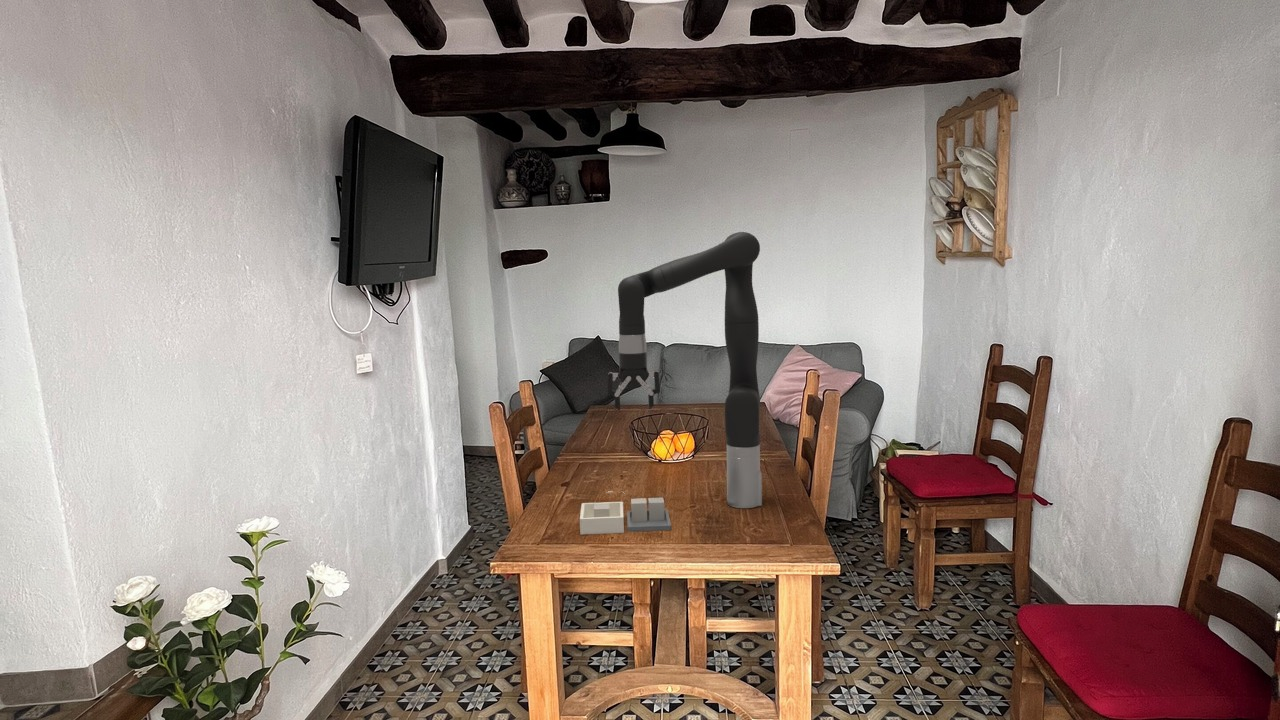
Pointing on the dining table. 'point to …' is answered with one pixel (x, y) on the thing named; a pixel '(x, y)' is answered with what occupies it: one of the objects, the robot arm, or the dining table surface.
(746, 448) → the robot arm
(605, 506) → the stone
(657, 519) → the stone
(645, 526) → the slate tray
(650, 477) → the dining table surface
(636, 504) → the stone
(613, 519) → the cream dish
